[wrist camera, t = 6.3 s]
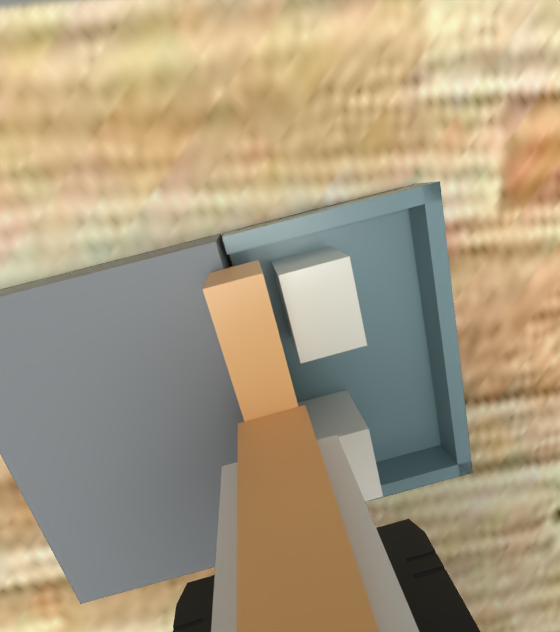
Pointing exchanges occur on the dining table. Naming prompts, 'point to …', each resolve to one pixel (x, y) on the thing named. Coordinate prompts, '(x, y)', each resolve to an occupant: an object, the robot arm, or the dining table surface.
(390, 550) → the robot arm
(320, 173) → the dining table surface
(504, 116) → the dining table surface
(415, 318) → the blue-grey flat tray
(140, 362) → the grey drawer housing
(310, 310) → the white rectangular block
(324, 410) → the white cube block
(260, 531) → the orange t-shaped block
